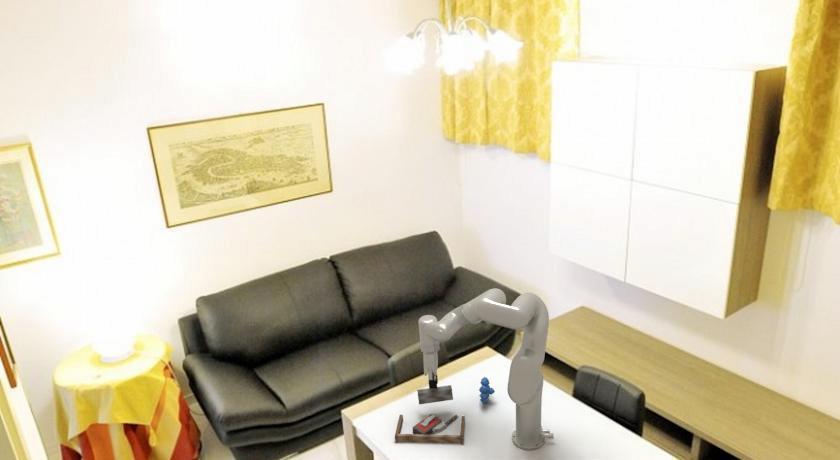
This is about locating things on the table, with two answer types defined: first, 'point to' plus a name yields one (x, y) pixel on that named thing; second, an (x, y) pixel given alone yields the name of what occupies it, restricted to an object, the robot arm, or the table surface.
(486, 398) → the grapes
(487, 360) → the table surface
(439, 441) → the dock
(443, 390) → the scraper
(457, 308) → the robot arm
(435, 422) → the walkie-talkie
